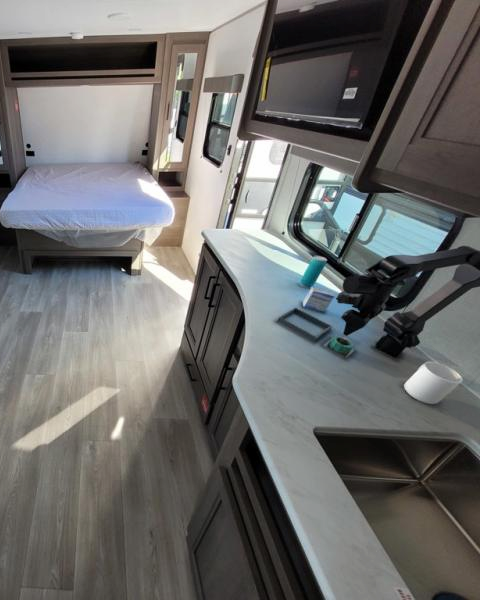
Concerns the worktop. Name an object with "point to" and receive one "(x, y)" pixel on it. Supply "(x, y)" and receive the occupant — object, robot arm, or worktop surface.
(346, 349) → the ring
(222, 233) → the worktop surface
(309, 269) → the beverage can
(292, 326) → the tray
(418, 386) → the mug
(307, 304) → the medicine box
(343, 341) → the stand
